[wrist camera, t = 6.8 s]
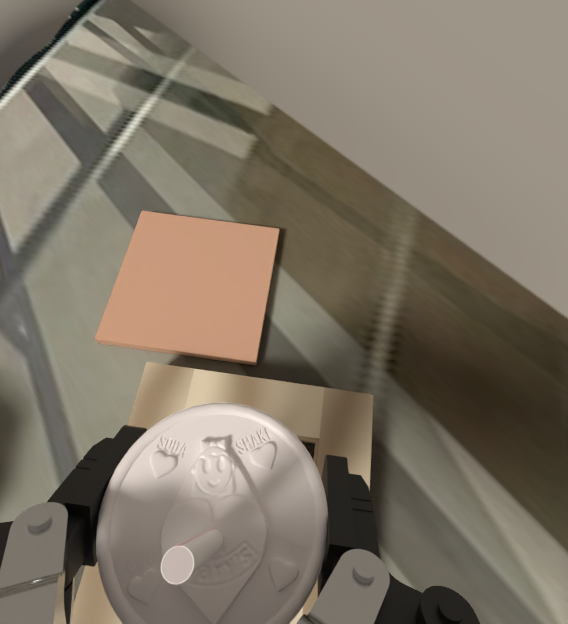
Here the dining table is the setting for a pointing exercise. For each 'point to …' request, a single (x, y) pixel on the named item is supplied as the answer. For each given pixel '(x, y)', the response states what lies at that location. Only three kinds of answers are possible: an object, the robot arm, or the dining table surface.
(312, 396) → the block
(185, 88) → the dining table surface
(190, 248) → the coaster
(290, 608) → the smoothie
